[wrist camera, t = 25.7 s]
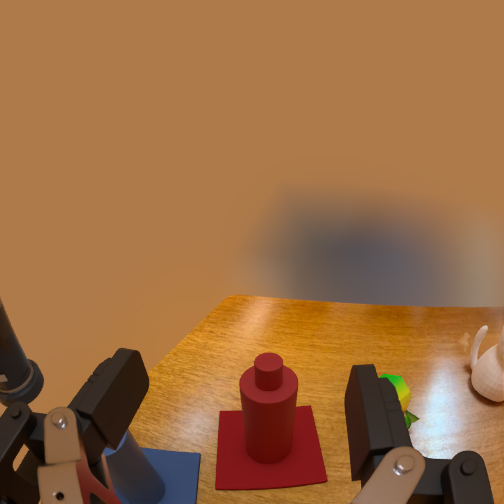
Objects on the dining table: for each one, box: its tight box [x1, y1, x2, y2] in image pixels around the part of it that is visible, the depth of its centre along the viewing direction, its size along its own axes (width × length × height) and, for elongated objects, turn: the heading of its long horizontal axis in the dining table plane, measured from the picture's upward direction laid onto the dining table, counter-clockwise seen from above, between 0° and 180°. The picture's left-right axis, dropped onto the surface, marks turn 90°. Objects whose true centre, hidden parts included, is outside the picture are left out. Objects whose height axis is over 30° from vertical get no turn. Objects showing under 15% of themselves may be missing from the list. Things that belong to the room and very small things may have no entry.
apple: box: [379, 374, 419, 429], centre depth 29 cm, size 7×6×9 cm
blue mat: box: [114, 447, 201, 504], centre depth 21 cm, size 12×12×1 cm
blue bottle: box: [103, 429, 165, 504], centre depth 19 cm, size 5×5×14 cm
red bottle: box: [239, 353, 298, 464], centre depth 25 cm, size 5×5×14 cm
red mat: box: [215, 405, 328, 490], centre depth 28 cm, size 12×12×1 cm
